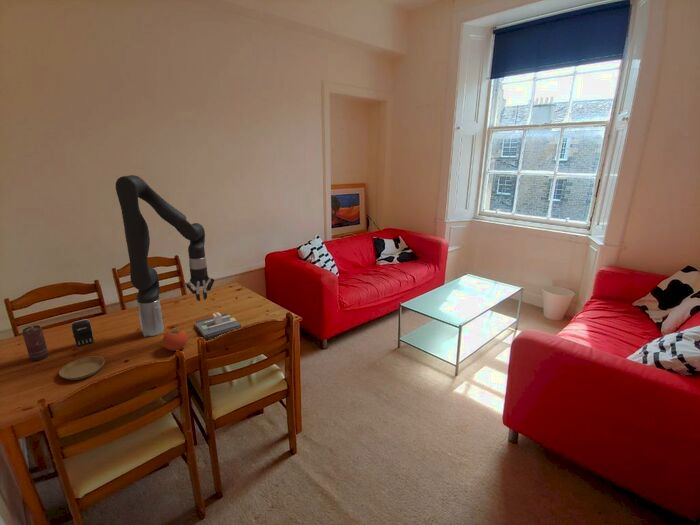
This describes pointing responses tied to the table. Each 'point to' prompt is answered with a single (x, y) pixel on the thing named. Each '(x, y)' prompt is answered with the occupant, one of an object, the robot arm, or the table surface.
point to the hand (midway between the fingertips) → (201, 299)
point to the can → (35, 343)
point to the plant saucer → (81, 368)
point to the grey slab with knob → (218, 332)
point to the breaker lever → (217, 318)
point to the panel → (210, 327)
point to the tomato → (175, 339)
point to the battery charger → (82, 332)
